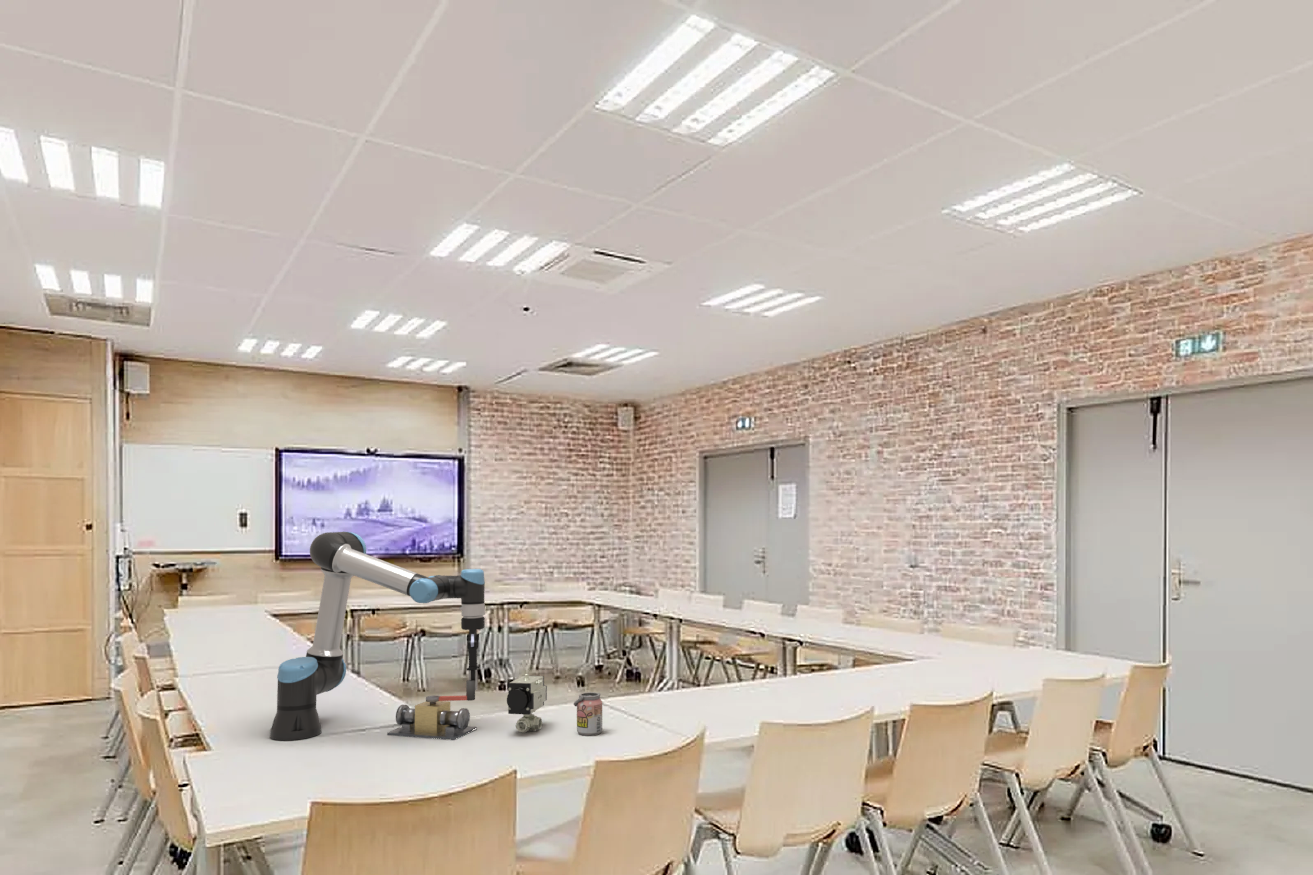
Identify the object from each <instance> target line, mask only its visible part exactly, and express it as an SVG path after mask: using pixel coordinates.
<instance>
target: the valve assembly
mask: <svg viewBox="0 0 1313 875" xmlns="http://www.w3.org/2000/svg"><path fill="white" fill-rule="evenodd" d="M470 719H471V714H470V711H469V709H468V708H466V707H465V708H464V707H463V708H462V707H461V708H460V709H459V710H451V701H437V702H426V701H424V702H420V703H417V704H415V706H414V708H413V707H410V706H409V705H407V704H401V705H399V706H398V707H397V709H396V712H395V722H396V724H397V725H398V726H401V727H398V728H394V729H392V730H390V731H388V732H387V734H386V735H387V736H395V737H404V738H405V737H407V738H420V739H421V738H422V739H432V738H433V739H434V738H435V739H434V740H446V739H451V740H450V741H455V740H457V739H456V738H458V737H460V738H462V737H464V736H465V734H466V733H468V732H470V733H472V732H473V731H472V730H473V729H475V728H478V727H477V726H471V725H470V726H469V724H470ZM471 731H472V732H471ZM468 734H469V733H468ZM463 735H464V736H463ZM466 735H467V734H466ZM461 736H462V737H461ZM436 738H437V739H436ZM438 738H439V739H438ZM440 738H441V739H440ZM458 739H459V738H458Z"/></svg>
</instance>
